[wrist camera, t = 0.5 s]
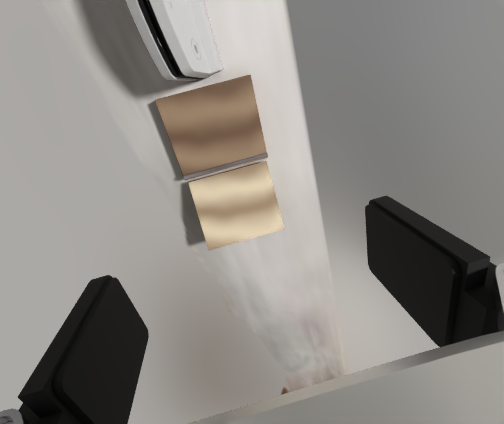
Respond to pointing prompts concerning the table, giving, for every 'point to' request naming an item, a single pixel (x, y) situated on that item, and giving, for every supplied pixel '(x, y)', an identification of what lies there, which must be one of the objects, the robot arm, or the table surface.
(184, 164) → the walnut board
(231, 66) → the table surface
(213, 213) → the oak plank
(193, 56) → the white curved device
